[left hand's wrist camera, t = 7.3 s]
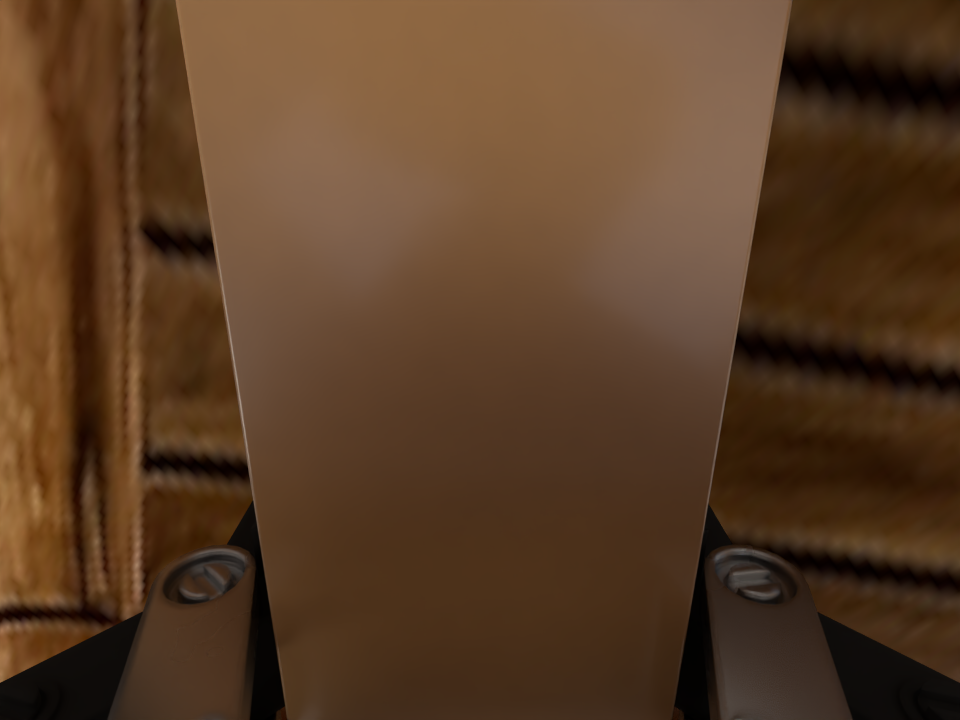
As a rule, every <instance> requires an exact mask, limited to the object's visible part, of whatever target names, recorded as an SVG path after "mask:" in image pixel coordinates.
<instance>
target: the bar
mask: <svg viewBox="0 0 960 720" xmlns="http://www.w3.org/2000/svg"><path fill="white" fill-rule="evenodd" d="M792 1H793V0H176V5H177V12H178V18H179V25H180V31H181V37H182V44H183V50H184V57H185V63H186V70H187V76H188V83H189V89H190V95H191V102H192V108H193V115H194V121H195V128H196V134H197V141H198V147H199V153H200V160H201V166H202V173H203V179H204V186H205V192H206V199H207V205H208V211H209V218H210V224H211V231H212V237H213V244H214V250H215V257H216V263H217V269H218V276H219V282H220V289H221V295H222V302H223V308H224V315H225V321H226V327H227V334H228V340H229V347H230V353H231V360H232V366H233V372H234V379H235V385H236V392H237V398H238V405H239V411H240V418H241V424H242V430H243V437H244V443H245V450H246V456H247V463H248V469H249V476H250V482H251V488H252V495H253V501H254V508H255V514H256V521H257V527H258V534H259V540H260V546H261V553H262V559H263V566H264V572H265V579H266V585H267V592H268V598H269V604H270V611H271V617H272V624H273V630H274V637H275V643H276V650H277V656H278V662H279V669H280V675H281V682H282V688H283V695H284V701H285V708H286V714H287V720H672V717H673V711H674V705H675V699H676V693H677V687H678V681H679V675H680V669H681V663H682V657H683V652H684V646H685V640H686V634H687V628H688V622H689V616H690V610H691V604H692V598H693V592H694V586H695V580H696V574H697V568H698V562H699V556H700V550H701V544H702V538H703V532H704V526H705V520H706V514H707V508H708V502H709V496H710V490H711V484H712V478H713V472H714V466H715V460H716V455H717V449H718V443H719V437H720V431H721V425H722V419H723V413H724V407H725V401H726V395H727V389H728V383H729V377H730V371H731V365H732V359H733V353H734V347H735V341H736V335H737V329H738V323H739V317H740V311H741V305H742V299H743V293H744V287H745V281H746V275H747V269H748V264H749V258H750V252H751V246H752V240H753V234H754V228H755V222H756V216H757V210H758V204H759V198H760V192H761V186H762V180H763V174H764V168H765V162H766V156H767V150H768V144H769V138H770V132H771V126H772V120H773V114H774V108H775V102H776V96H777V90H778V84H779V78H780V72H781V67H782V61H783V55H784V49H785V43H786V37H787V31H788V25H789V19H790V13H791V7H792Z"/></svg>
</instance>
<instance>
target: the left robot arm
mask: <svg viewBox="0 0 960 720" xmlns="http://www.w3.org/2000/svg"><path fill="white" fill-rule="evenodd" d="M284 706H285V701H284V695H283V688H282V682H281V675H280V669H279V662H278V656H277V650H276V643H275V637H274V630H273V624H272V617H271V611H270V604H269V598H268V592H267V585H266V579H265V572H264V566H263V559H262V553H261V546H260V540H259V534H258V527H257V521H256V514H255V508H254V501H252V503H251V505H250V506H249V508H248V510H247V511H246V513H245V515H244V516H243V518H242V520H241V522H240V523H239V525H238V527H237V528H236V530H235V532H234V533H233V535H232V537H231V538H230V540H229V542H228V544H227V545H213V546H208V547H204V548H200V549H196V550H194V551H191V552H189V553H187V554H184V555H182V556H180V557H179V558H177V559H175V560H174V561H172V562H171V563H169V564H168V565H167V566H166V567H165V568H164V569H163V570H162V571H161V572H160V573H159V574H158V575H157V577H156V578H155V580H154V582H153V584H152V586H151V589H150V592H149V595H148V598H147V601H146V604H145V607H144V610H143V612H141V613H139V614H137V615H135V616H133V617H131V618H129V619H127V620H125V621H123V622H121V623H119V624H117V625H115V626H113V627H111V628H109V629H107V630H105V631H103V632H101V633H99V634H97V635H95V636H93V637H91V638H89V639H87V640H85V641H83V642H81V643H79V644H77V645H75V646H73V647H71V648H69V649H67V650H65V651H63V652H61V653H59V654H57V655H55V656H53V657H51V658H49V659H47V660H45V661H43V662H41V663H39V664H37V665H35V666H33V667H31V668H29V669H27V670H25V671H23V672H21V673H19V674H17V675H15V676H13V677H11V678H9V679H7V680H5V681H3V682H1V683H0V720H282V718H281V711H280V709H281V708H283V707H284ZM674 706H675V707H677V708H678V709H679V710H680V711H679V718H678V720H960V683H959V682H957V681H955V680H953V679H951V678H949V677H947V676H945V675H943V674H941V673H939V672H937V671H935V670H933V669H931V668H929V667H927V666H925V665H923V664H921V663H919V662H917V661H915V660H913V659H911V658H909V657H907V656H905V655H903V654H901V653H899V652H897V651H895V650H893V649H891V648H889V647H887V646H885V645H883V644H881V643H879V642H877V641H875V640H873V639H871V638H869V637H867V636H865V635H863V634H861V633H859V632H856V631H854V630H852V629H850V628H848V627H846V626H844V625H842V624H840V623H838V622H836V621H834V620H832V619H830V618H828V617H826V616H824V615H822V614H820V613H818V612H817V610H816V607H815V604H814V601H813V598H812V595H811V592H810V589H809V586H808V584H807V582H806V580H805V578H804V577H803V575H802V574H801V573H800V572H799V571H798V570H797V569H796V568H795V567H794V566H793V565H792V564H791V563H789V562H788V561H786V560H785V559H783V558H781V557H780V556H778V555H776V554H773V553H771V552H769V551H766V550H764V549H760V548H756V547H752V546H747V545H732V543H731V541H730V539H729V538H728V536H727V534H726V533H725V531H724V529H723V528H722V526H721V524H720V523H719V521H718V519H717V517H716V516H715V514H714V512H713V511H712V509H711V507H710V506H709V504H708V508H707V514H706V520H705V526H704V532H703V538H702V544H701V550H700V556H699V562H698V568H697V574H696V580H695V586H694V592H693V598H692V604H691V610H690V616H689V622H688V628H687V634H686V640H685V646H684V652H683V657H682V663H681V669H680V675H679V681H678V687H677V693H676V699H675V705H674Z"/></svg>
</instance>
